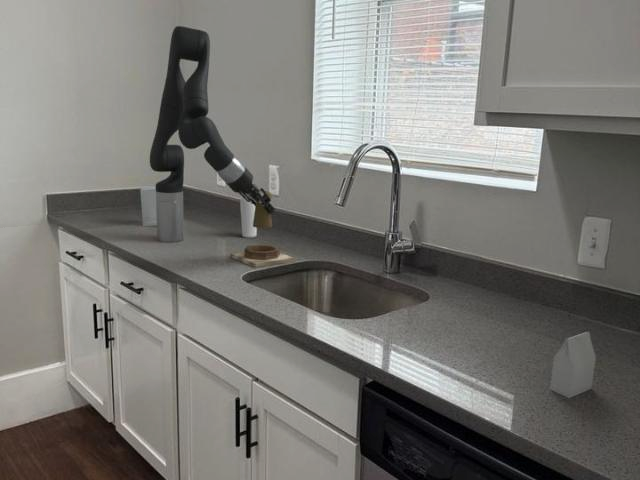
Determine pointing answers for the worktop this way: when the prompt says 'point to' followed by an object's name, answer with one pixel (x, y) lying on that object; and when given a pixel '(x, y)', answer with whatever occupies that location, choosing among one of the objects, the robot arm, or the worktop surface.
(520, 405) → the worktop surface
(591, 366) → the milk carton
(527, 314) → the worktop surface
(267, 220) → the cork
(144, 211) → the skincare box
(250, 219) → the drinking glass
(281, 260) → the board
